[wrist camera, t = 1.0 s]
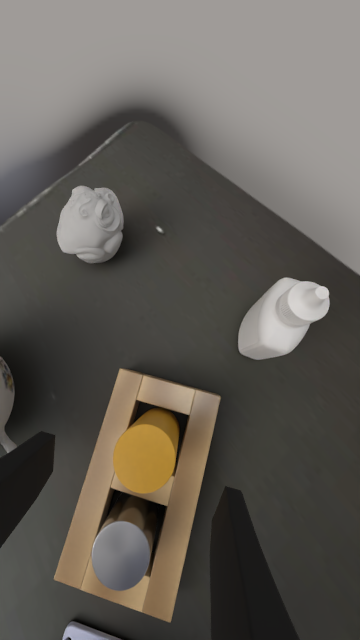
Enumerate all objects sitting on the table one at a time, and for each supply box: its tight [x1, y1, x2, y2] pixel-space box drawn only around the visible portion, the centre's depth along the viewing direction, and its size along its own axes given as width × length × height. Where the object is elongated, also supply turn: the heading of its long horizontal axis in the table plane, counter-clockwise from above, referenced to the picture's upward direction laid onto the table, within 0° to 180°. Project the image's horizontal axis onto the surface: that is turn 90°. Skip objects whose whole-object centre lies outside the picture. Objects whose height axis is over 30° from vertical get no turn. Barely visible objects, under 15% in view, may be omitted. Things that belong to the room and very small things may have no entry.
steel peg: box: [92, 492, 159, 591], centre depth 18 cm, size 4×4×5 cm
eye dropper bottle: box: [238, 278, 330, 360], centre depth 18 cm, size 4×6×12 cm
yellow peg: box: [113, 408, 180, 493], centre depth 19 cm, size 4×4×8 cm
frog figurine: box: [57, 186, 124, 263], centre depth 23 cm, size 6×7×7 cm
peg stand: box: [54, 368, 221, 622], centre depth 20 cm, size 9×16×2 cm, turn 165°
